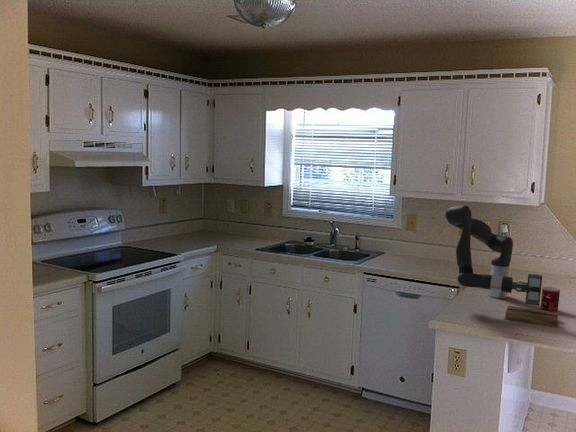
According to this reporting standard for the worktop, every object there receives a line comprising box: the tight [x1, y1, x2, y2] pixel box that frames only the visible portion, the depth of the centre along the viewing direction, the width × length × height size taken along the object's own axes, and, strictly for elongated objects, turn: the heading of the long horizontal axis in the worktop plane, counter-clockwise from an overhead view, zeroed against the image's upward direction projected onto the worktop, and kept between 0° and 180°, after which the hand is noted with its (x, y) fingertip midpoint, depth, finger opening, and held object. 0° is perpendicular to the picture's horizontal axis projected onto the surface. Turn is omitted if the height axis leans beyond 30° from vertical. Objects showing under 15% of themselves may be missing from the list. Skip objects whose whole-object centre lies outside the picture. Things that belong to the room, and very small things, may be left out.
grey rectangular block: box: [524, 272, 544, 307], centre depth 267 cm, size 3×6×14 cm, turn 64°
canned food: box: [540, 286, 561, 313], centre depth 287 cm, size 8×8×11 cm
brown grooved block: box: [504, 305, 559, 328], centre depth 268 cm, size 13×22×4 cm, turn 64°
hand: (540, 289), depth 266 cm, fingers closed on grey rectangular block, 3 cm apart
